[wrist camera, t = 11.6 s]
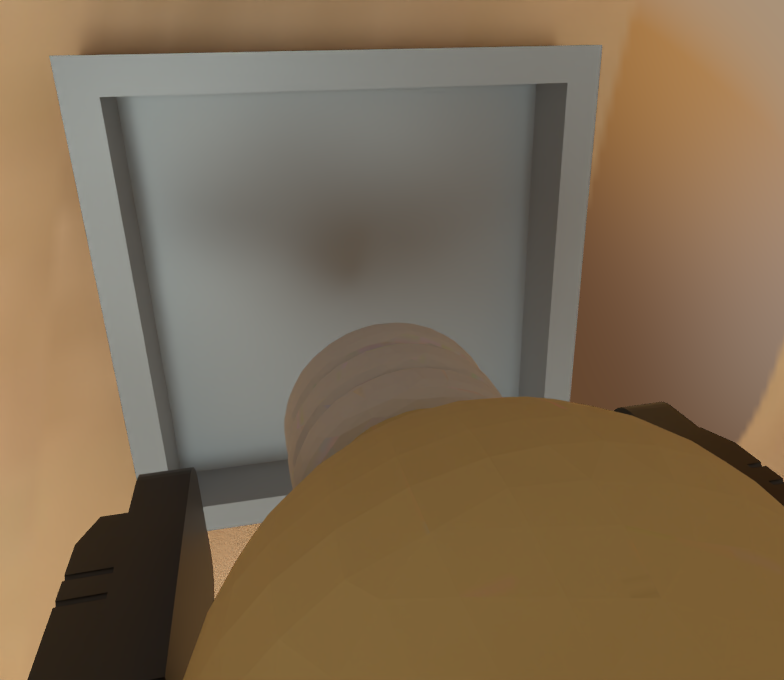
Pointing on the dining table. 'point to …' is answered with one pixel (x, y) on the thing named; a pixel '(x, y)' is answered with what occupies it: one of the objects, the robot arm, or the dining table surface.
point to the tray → (321, 229)
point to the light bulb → (492, 538)
